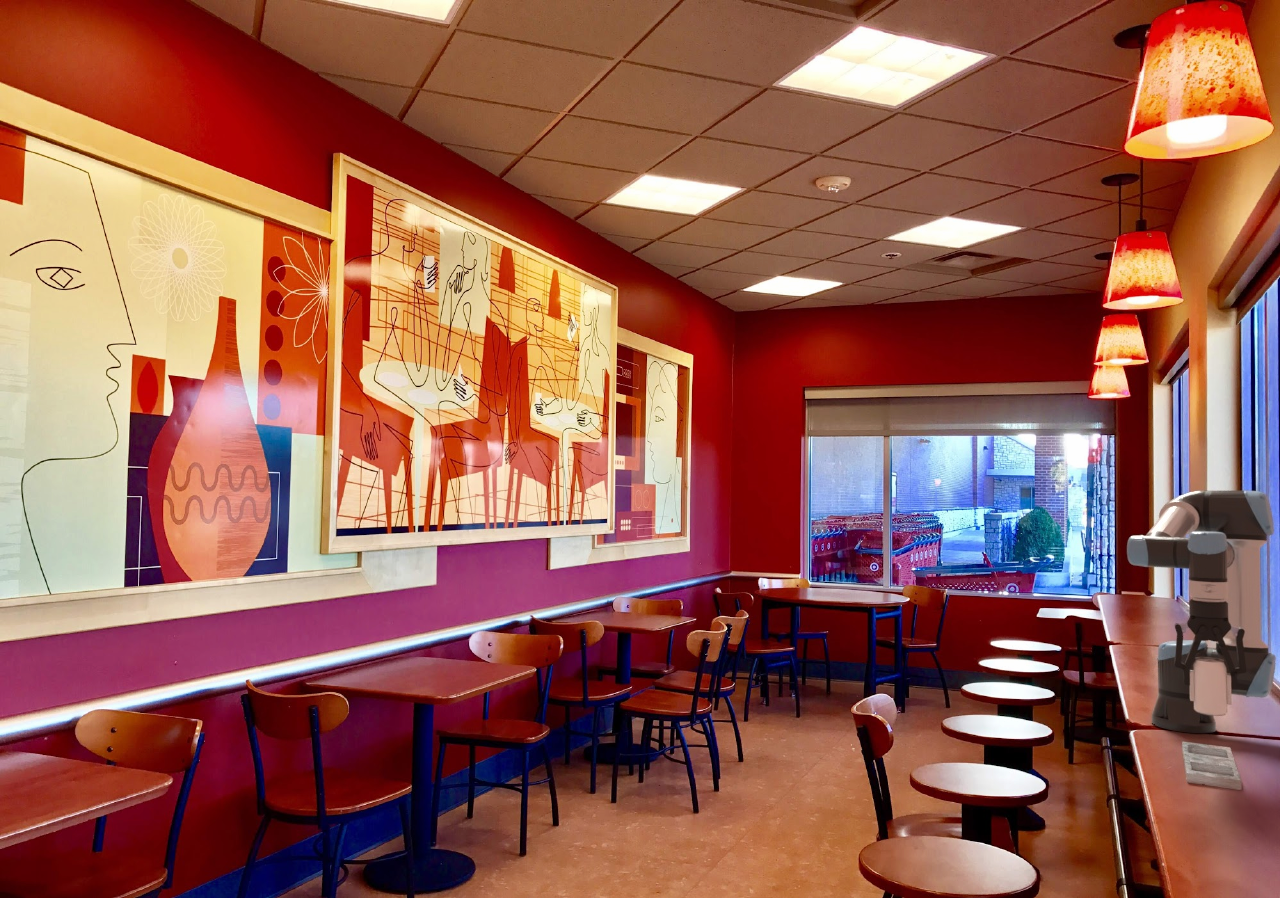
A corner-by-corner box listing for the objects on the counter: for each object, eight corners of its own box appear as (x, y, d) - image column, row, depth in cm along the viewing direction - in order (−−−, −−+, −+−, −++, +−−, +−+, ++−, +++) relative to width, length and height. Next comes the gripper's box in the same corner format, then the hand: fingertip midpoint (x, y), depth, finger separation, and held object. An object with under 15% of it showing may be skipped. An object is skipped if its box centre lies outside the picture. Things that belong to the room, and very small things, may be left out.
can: (1222, 710, 207) (1221, 657, 208) (1231, 717, 201) (1230, 662, 202) (1190, 707, 209) (1189, 655, 210) (1198, 714, 203) (1196, 660, 204)
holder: (1182, 749, 225) (1182, 741, 225) (1230, 755, 220) (1230, 747, 220) (1186, 782, 198) (1186, 773, 199) (1241, 790, 194) (1241, 780, 194)
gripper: (1159, 598, 208) (1161, 699, 207) (1261, 604, 198) (1263, 710, 198) (1159, 595, 214) (1160, 693, 213) (1257, 600, 205) (1259, 703, 204)
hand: (1210, 701), depth 206 cm, fingers closed on can, 6 cm apart
